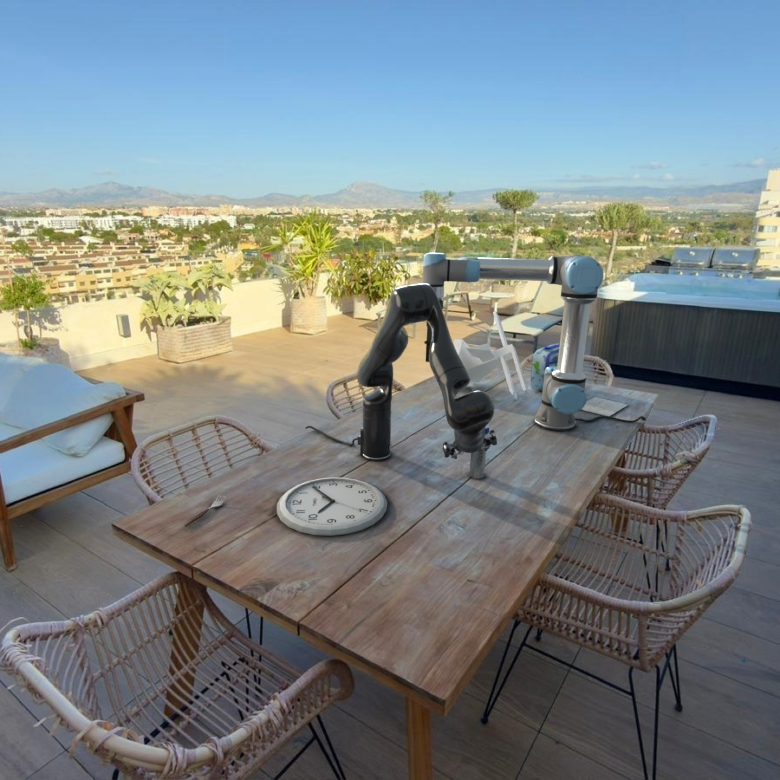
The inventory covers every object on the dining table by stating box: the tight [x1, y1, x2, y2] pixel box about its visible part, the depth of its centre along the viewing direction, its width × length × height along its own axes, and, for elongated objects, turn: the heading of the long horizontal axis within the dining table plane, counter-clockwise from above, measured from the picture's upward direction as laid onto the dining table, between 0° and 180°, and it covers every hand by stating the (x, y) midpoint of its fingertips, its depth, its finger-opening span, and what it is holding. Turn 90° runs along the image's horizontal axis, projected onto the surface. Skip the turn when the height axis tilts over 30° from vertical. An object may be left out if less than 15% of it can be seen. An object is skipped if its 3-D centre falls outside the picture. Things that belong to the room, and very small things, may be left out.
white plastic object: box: [453, 310, 531, 400], centre depth 245 cm, size 37×45×31 cm
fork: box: [184, 492, 228, 527], centre depth 137 cm, size 3×16×2 cm, turn 160°
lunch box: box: [530, 343, 560, 391], centre depth 249 cm, size 26×11×21 cm, turn 134°
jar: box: [469, 434, 488, 480], centre depth 159 cm, size 4×4×16 cm
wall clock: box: [276, 476, 388, 537], centre depth 142 cm, size 30×2×30 cm
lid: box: [485, 424, 490, 435], centre depth 157 cm, size 5×5×2 cm
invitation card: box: [580, 396, 629, 417], centre depth 226 cm, size 21×1×15 cm
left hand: (469, 451), depth 144 cm, fingers open, 8 cm apart
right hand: (430, 357), depth 190 cm, fingers open, 13 cm apart
